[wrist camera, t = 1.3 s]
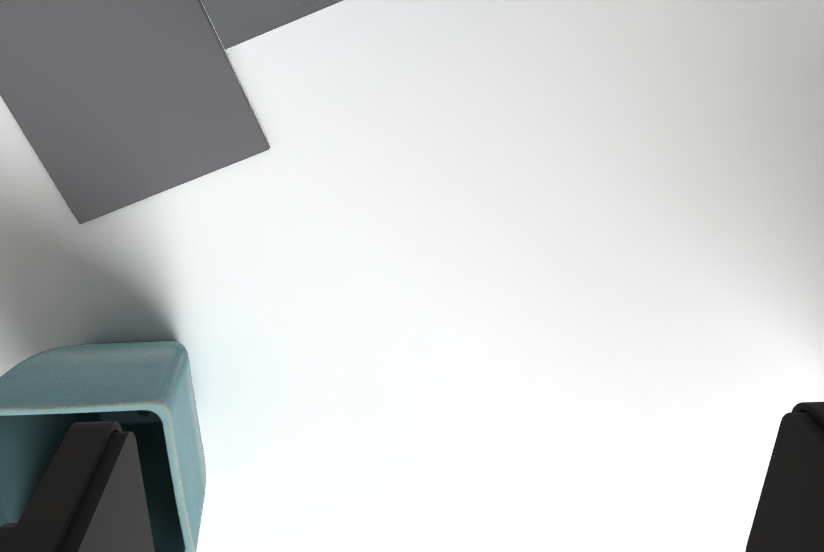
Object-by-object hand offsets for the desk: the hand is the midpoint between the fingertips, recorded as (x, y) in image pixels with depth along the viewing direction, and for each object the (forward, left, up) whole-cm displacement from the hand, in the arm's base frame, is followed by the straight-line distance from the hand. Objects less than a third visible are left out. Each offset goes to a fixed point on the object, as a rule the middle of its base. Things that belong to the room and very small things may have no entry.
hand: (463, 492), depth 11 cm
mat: (+12, -5, -27) cm, 30 cm away
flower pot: (+19, +9, -27) cm, 34 cm away
